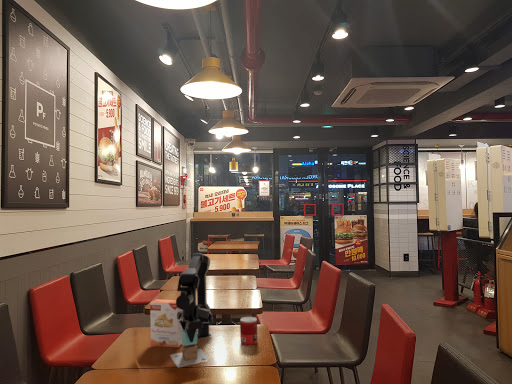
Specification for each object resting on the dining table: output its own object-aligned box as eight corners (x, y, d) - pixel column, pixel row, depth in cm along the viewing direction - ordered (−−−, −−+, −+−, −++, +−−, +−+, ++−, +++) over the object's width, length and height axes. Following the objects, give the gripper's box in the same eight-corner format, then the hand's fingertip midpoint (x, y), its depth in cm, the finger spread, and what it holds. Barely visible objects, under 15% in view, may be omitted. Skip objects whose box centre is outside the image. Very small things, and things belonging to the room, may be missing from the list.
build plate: (169, 357, 156) (169, 354, 156) (200, 350, 162) (200, 347, 162) (177, 370, 143) (177, 366, 144) (211, 362, 150) (211, 359, 150)
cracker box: (150, 347, 167) (149, 301, 168) (156, 342, 173) (156, 298, 174) (178, 350, 164) (177, 303, 165) (183, 345, 170) (183, 299, 171)
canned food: (257, 345, 167) (256, 321, 167) (240, 345, 167) (239, 321, 168) (257, 339, 175) (257, 316, 175) (241, 339, 175) (240, 316, 175)
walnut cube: (182, 356, 154) (182, 344, 154) (193, 354, 156) (193, 342, 156) (185, 360, 150) (185, 348, 150) (197, 358, 152) (197, 346, 152)
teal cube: (182, 341, 154) (182, 329, 154) (193, 339, 157) (193, 327, 157) (185, 345, 150) (185, 333, 150) (197, 343, 152) (197, 331, 152)
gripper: (214, 305, 149) (215, 343, 149) (200, 295, 166) (201, 330, 165) (188, 309, 144) (188, 349, 144) (176, 298, 161) (176, 334, 160)
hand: (189, 340), depth 153 cm, fingers closed on teal cube, 5 cm apart
